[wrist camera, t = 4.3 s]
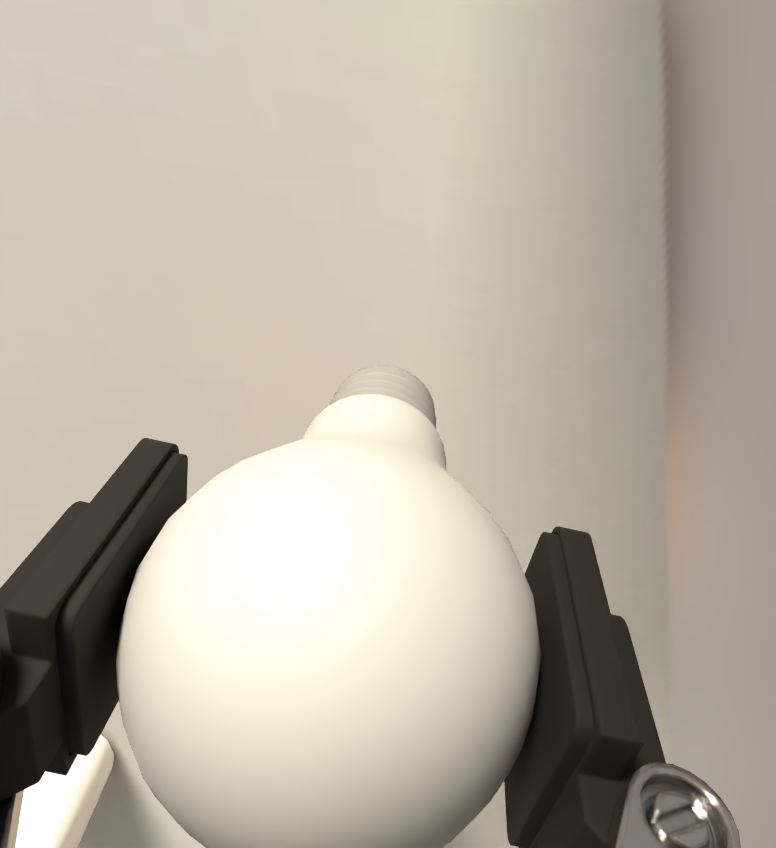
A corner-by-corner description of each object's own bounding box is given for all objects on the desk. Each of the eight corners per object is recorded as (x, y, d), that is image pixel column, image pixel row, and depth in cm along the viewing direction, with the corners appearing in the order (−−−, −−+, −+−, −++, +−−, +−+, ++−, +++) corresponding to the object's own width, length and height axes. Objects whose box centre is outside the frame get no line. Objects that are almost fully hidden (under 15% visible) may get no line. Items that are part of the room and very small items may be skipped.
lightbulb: (475, 249, 15) (495, 627, 5) (530, 468, 17) (608, 976, 8) (232, 316, 16) (-100, 710, 7) (318, 509, 19) (171, 980, 9)
